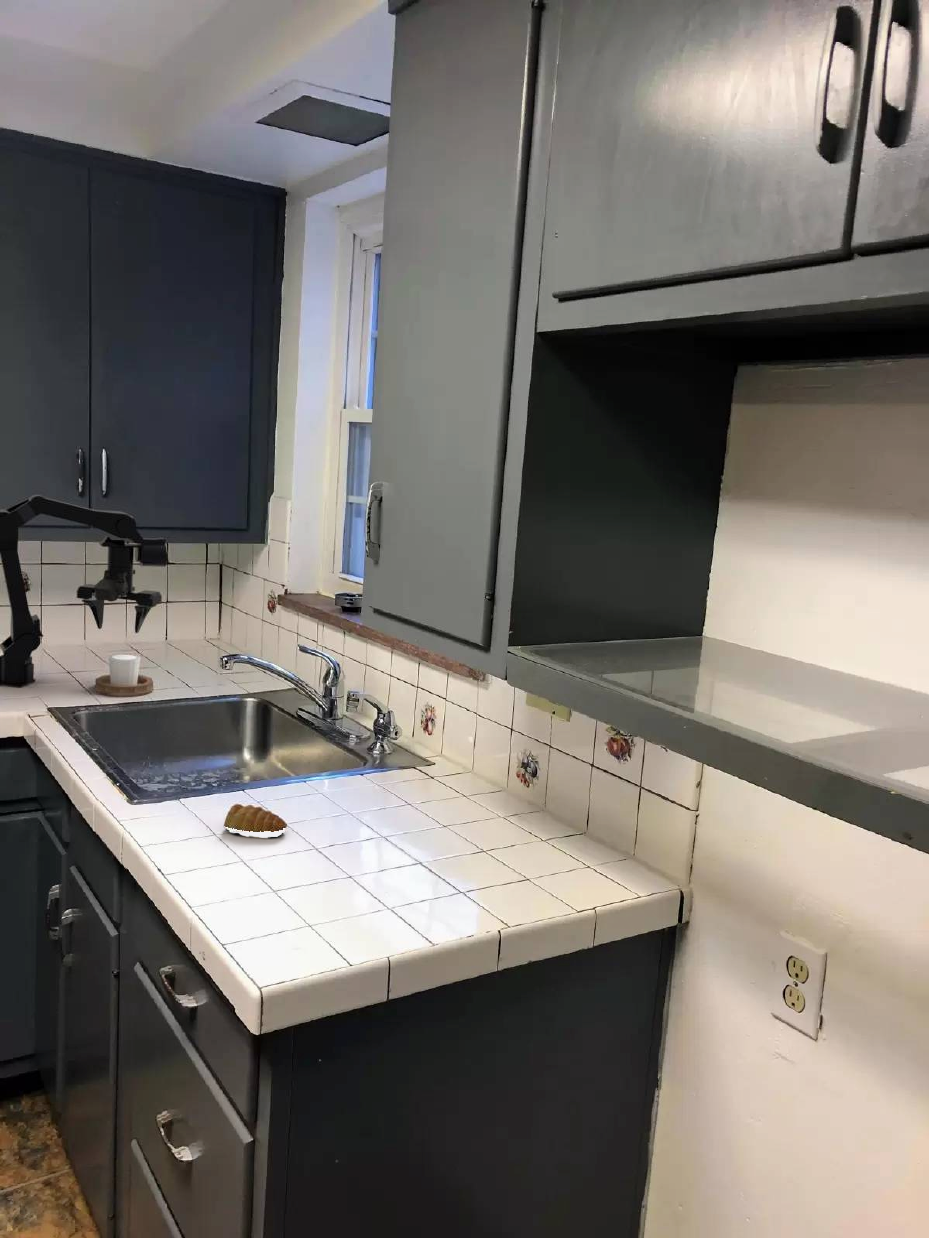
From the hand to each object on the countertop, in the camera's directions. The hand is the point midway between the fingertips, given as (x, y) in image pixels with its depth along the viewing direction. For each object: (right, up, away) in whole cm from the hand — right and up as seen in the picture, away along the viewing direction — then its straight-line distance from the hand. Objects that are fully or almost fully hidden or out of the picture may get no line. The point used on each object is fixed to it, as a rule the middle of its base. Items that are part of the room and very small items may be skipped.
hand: (118, 630), depth 233 cm
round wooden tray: (+3, -14, -6) cm, 15 cm away
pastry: (+49, -31, -79) cm, 98 cm away
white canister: (+3, -13, -6) cm, 15 cm away
